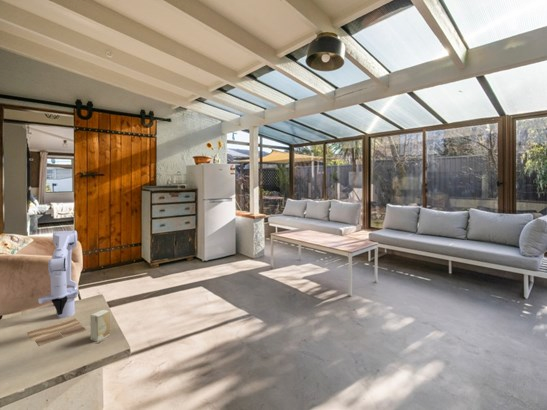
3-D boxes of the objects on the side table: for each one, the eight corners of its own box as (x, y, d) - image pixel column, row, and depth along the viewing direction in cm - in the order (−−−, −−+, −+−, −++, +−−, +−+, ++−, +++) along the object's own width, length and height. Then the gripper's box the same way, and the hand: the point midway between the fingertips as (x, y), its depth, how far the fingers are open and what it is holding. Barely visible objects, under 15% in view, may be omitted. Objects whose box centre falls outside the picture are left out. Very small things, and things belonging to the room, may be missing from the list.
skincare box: (97, 344, 122) (97, 316, 121) (90, 342, 123) (89, 315, 123) (110, 336, 128) (110, 310, 127) (103, 335, 130) (102, 309, 129)
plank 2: (59, 334, 129) (59, 331, 129) (81, 327, 136) (81, 324, 136) (64, 339, 125) (64, 337, 125) (86, 332, 131) (86, 329, 131)
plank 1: (34, 342, 122) (34, 339, 122) (58, 334, 129) (58, 332, 129) (39, 348, 118) (38, 345, 118) (63, 340, 125) (63, 337, 125)
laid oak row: (26, 334, 128) (26, 332, 128) (74, 320, 143) (74, 318, 142) (32, 342, 122) (31, 340, 122) (81, 326, 136) (81, 324, 136)
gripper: (40, 291, 120) (41, 322, 121) (80, 282, 131) (81, 311, 132) (36, 287, 124) (37, 317, 125) (75, 279, 136) (76, 306, 137)
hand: (59, 313), depth 129 cm, fingers closed
